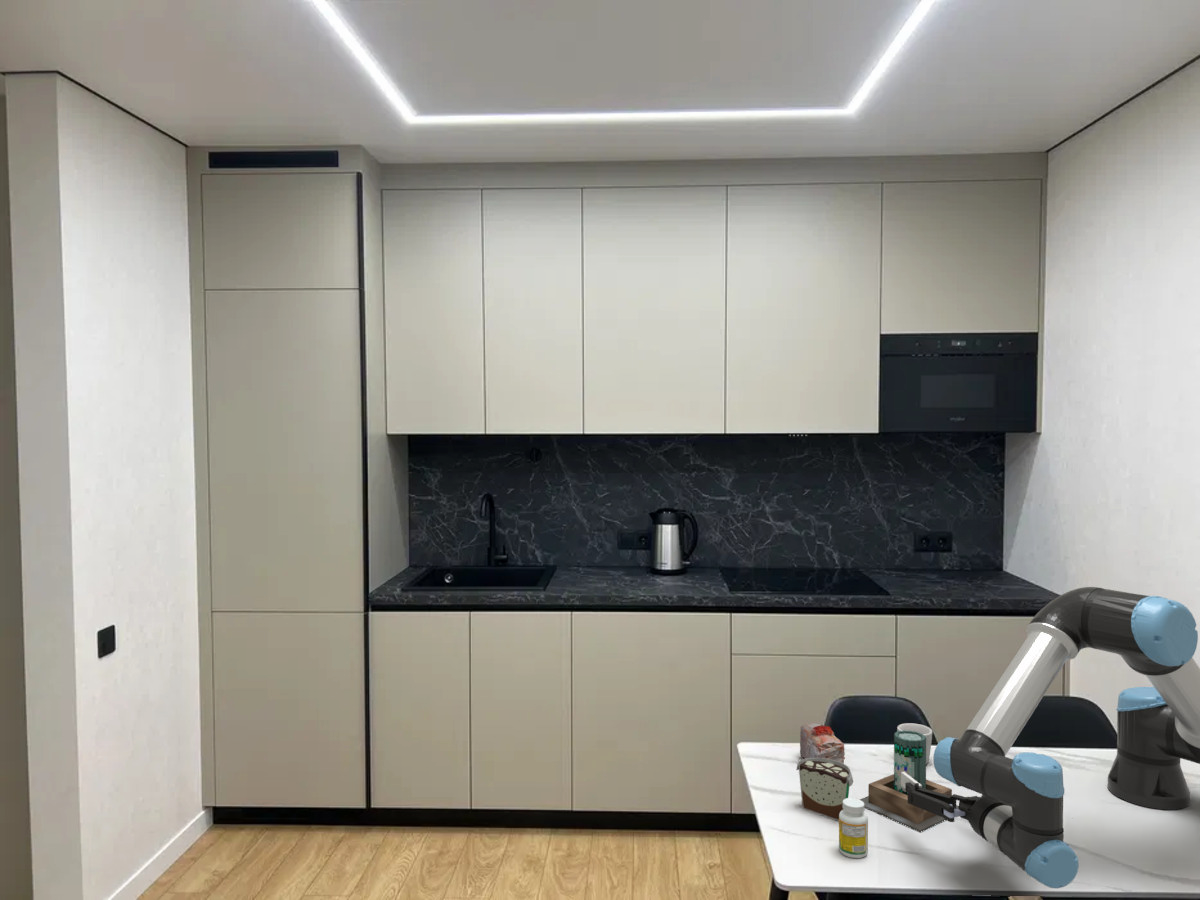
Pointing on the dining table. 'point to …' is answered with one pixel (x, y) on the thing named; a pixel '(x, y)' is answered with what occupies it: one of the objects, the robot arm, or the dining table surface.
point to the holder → (901, 804)
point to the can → (909, 758)
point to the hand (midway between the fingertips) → (933, 775)
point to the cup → (919, 729)
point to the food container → (824, 785)
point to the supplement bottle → (853, 829)
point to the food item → (820, 743)
